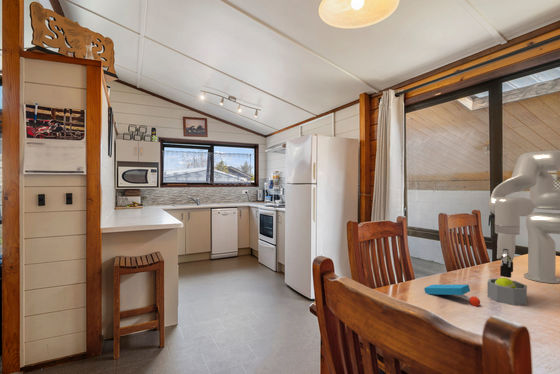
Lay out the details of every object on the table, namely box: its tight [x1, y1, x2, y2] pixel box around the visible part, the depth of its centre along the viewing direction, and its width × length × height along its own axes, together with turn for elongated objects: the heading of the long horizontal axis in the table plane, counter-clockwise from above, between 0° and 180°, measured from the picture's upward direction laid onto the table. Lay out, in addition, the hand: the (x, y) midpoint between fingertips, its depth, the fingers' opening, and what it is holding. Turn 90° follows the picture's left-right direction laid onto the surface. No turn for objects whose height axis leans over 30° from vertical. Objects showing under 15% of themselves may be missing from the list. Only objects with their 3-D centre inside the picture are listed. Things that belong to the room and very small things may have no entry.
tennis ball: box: [494, 277, 516, 288], centre depth 110 cm, size 7×7×7 cm
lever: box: [423, 284, 481, 307], centre depth 111 cm, size 7×7×18 cm
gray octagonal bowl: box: [487, 278, 528, 306], centre depth 111 cm, size 12×12×6 cm
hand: (506, 273), depth 111 cm, fingers open, 9 cm apart
